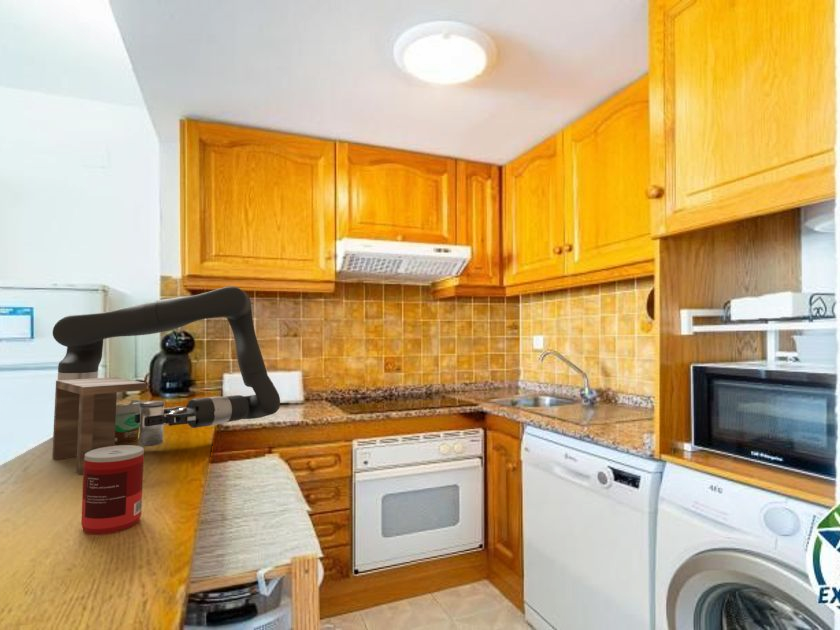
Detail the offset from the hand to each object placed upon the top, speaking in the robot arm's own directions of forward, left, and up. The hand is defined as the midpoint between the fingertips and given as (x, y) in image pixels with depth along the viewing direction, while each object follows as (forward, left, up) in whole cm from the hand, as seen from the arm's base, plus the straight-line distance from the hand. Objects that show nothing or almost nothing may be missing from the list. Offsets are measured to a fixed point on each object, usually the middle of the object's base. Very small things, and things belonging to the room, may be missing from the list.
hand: (140, 420), depth 112 cm
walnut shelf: (0, -9, -8) cm, 12 cm away
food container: (-16, +3, -8) cm, 18 cm away
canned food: (+41, -20, -8) cm, 46 cm away
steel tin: (0, +3, -6) cm, 7 cm away
